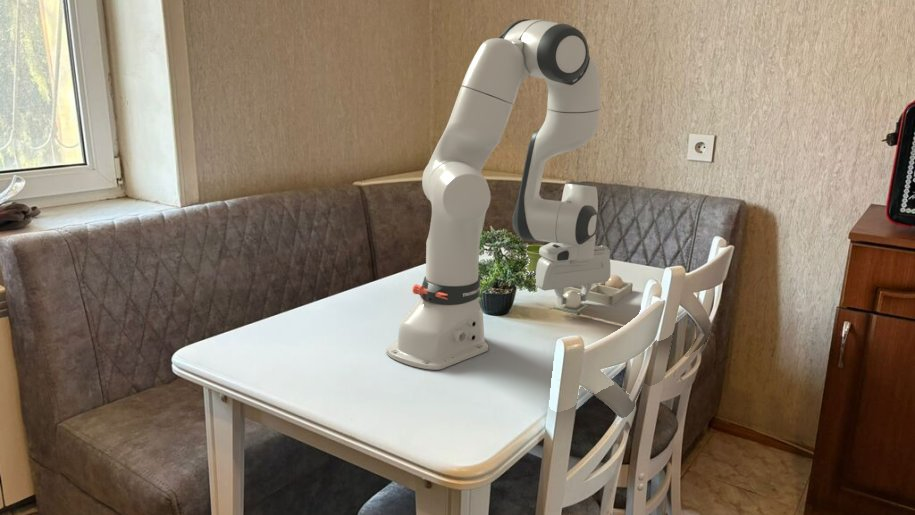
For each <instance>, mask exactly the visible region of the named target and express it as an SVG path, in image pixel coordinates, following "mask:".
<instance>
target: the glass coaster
mask: <svg viewBox="0 0 915 515" xmlns="http://www.w3.org/2000/svg"><path fill="white" fill-rule="evenodd" d="M580 305H583V306H582V307H580V308H578V309H573V308H569V307H565V306H564V307H563V306H561V305H560V304H558V303H556V304H554V307H553V309H554V310H556V311H561V312H564V313H568V314H572V315H577V316H578V315H579V314H580V311H582V310H583V309H585V308H586V307H588V306H589V304H588V303H584V302H581V303H580Z"/></svg>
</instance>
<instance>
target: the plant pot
mask: <svg viewBox="0 0 915 515" xmlns="http://www.w3.org/2000/svg"><path fill="white" fill-rule="evenodd" d="M526 246H528V247H527V255H528V257H529V258H530V263H529V265H528V267H527V270H528V271H529V272H530V271H534V272H536V267H537V263H538V260H539V259H540V258H541V257H542V256H541V255H540V254H539V249H540V248H541V247H542V246H544V244H528V245H526Z"/></svg>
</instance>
